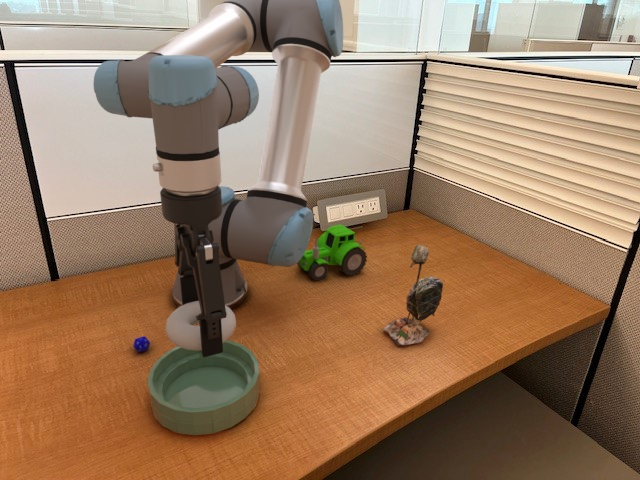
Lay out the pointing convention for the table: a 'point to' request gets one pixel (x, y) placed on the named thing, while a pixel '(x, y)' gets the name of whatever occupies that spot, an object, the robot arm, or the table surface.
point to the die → (141, 344)
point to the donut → (189, 335)
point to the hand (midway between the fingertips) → (201, 332)
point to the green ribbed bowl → (204, 389)
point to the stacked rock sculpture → (417, 304)
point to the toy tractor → (334, 253)
